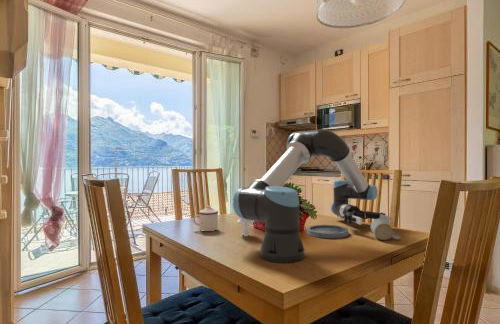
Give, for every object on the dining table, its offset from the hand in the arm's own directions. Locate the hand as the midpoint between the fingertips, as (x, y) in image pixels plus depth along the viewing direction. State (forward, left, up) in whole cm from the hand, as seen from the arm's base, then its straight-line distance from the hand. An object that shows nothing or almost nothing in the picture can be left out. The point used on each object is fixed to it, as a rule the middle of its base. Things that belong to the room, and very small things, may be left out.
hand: (375, 220), depth 128 cm
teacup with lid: (-71, +27, -7) cm, 77 cm away
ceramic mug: (+1, -6, -7) cm, 9 cm away
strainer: (-54, +13, -7) cm, 56 cm away
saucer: (-18, +8, -6) cm, 21 cm away
